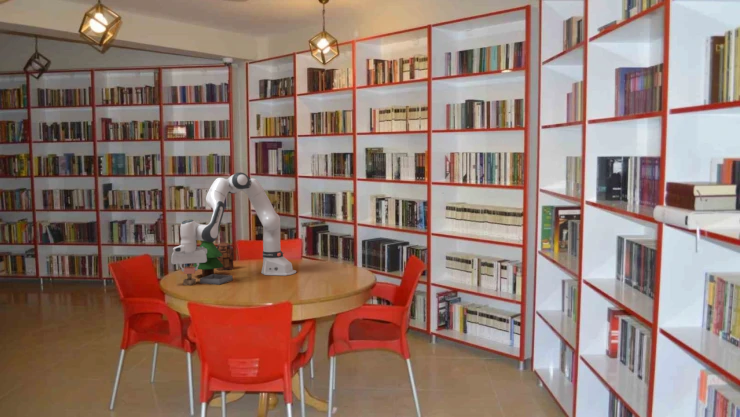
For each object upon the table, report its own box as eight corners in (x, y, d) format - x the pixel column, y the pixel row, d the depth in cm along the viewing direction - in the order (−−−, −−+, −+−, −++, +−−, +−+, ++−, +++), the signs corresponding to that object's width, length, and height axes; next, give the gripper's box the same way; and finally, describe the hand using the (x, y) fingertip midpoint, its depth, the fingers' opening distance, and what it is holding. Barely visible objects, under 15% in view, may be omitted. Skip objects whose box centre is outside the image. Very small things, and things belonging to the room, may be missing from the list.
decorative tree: (215, 279, 370) (213, 231, 367) (186, 278, 374) (184, 230, 371) (228, 273, 389) (227, 227, 386) (201, 272, 392) (199, 227, 390)
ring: (195, 271, 360) (195, 266, 360) (194, 273, 354) (194, 268, 354) (184, 272, 359) (184, 267, 359) (184, 274, 353) (183, 268, 353)
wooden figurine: (215, 270, 400) (214, 243, 398) (216, 269, 406) (215, 242, 404) (233, 270, 401) (232, 243, 400) (234, 268, 408) (233, 241, 406)
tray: (232, 280, 368) (232, 275, 368) (219, 284, 355) (219, 279, 355) (213, 278, 372) (213, 274, 372) (200, 283, 360) (199, 278, 360)
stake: (195, 283, 359) (195, 272, 358) (190, 285, 354) (190, 273, 354) (188, 283, 361) (188, 271, 360) (183, 284, 356) (183, 273, 355)
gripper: (207, 245, 361) (208, 268, 362) (171, 247, 356) (172, 270, 357) (206, 247, 355) (207, 270, 356) (170, 249, 350) (171, 272, 351)
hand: (189, 270), depth 356 cm, fingers closed on ring, 6 cm apart
